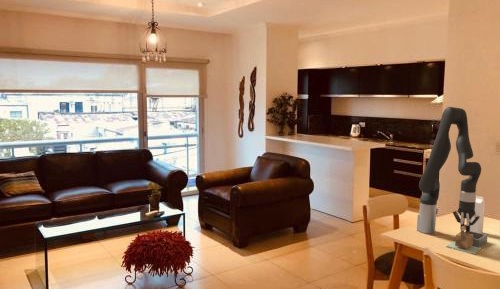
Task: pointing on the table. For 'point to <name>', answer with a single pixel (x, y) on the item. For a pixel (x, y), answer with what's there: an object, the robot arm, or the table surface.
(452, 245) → the mat
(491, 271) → the table surface
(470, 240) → the caddy
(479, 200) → the milk
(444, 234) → the table surface
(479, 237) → the holder
